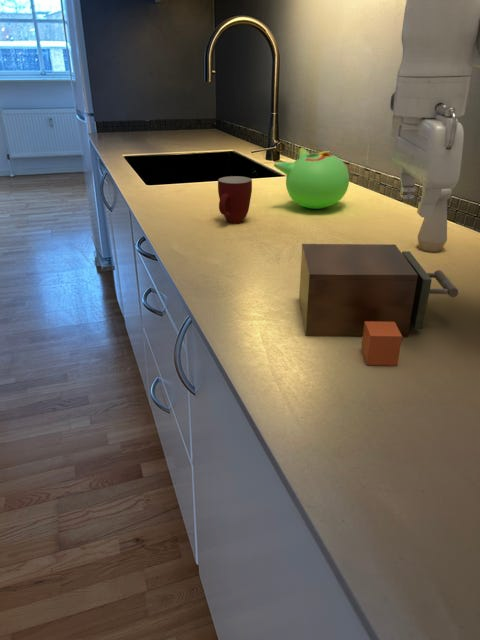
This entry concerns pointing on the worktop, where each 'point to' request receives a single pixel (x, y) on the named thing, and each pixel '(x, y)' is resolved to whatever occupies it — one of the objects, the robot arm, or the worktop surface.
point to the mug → (234, 197)
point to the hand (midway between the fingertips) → (415, 206)
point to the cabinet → (354, 288)
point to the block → (381, 343)
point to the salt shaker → (435, 225)
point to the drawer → (426, 290)
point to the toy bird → (315, 179)
